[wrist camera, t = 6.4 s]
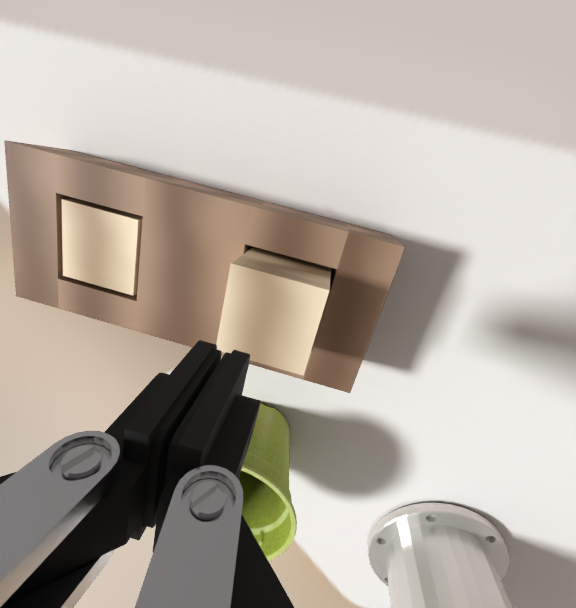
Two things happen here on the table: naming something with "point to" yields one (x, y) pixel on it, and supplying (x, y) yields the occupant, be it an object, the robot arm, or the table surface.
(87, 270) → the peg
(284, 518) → the plant pot
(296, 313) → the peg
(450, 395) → the table surface
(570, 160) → the table surface
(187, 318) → the peg board
